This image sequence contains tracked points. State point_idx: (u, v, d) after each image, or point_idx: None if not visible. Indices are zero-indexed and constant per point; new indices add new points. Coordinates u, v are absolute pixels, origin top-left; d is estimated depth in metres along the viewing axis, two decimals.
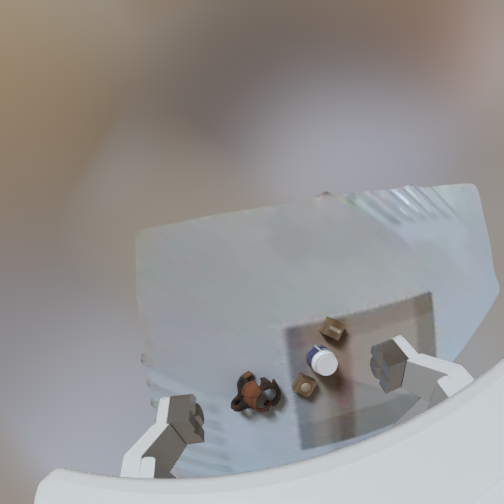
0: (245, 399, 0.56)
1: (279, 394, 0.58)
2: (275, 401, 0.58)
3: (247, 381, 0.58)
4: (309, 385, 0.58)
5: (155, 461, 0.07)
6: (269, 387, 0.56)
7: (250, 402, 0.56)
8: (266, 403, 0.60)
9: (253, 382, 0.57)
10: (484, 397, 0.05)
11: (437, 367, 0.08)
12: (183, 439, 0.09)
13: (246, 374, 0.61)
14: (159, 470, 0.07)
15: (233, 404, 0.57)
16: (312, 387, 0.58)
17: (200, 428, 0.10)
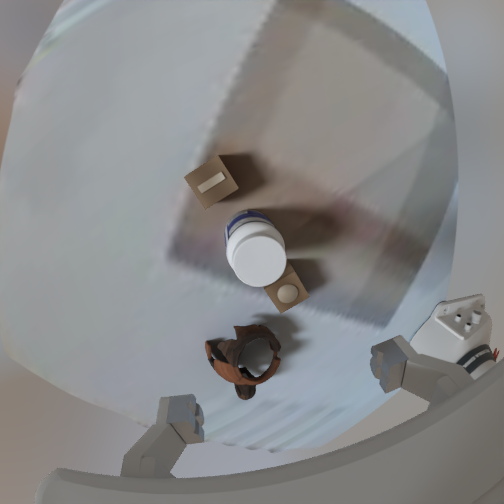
0: (237, 383, 0.34)
1: (264, 335, 0.34)
2: (273, 344, 0.35)
3: (212, 364, 0.35)
4: (288, 286, 0.32)
5: (155, 461, 0.07)
6: (237, 352, 0.32)
7: None
8: (272, 346, 0.38)
9: (217, 363, 0.33)
10: (484, 397, 0.05)
11: (437, 367, 0.08)
12: (183, 439, 0.09)
13: (206, 350, 0.37)
14: (159, 470, 0.07)
15: (238, 394, 0.36)
16: (296, 282, 0.32)
17: (200, 428, 0.10)
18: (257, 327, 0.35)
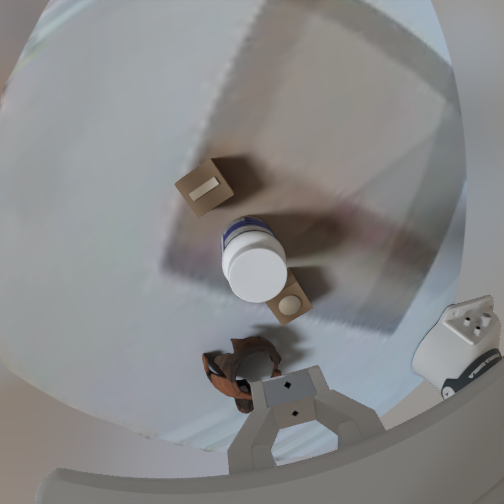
0: (237, 398, 0.32)
1: (263, 348, 0.31)
2: (273, 357, 0.32)
3: (210, 379, 0.32)
4: (290, 297, 0.30)
5: (269, 448, 0.07)
6: (235, 367, 0.30)
7: None
8: (272, 357, 0.36)
9: (214, 377, 0.31)
10: (484, 397, 0.05)
11: (345, 409, 0.08)
12: (277, 424, 0.10)
13: (203, 363, 0.35)
14: (272, 458, 0.07)
15: (238, 407, 0.34)
16: (298, 293, 0.30)
17: (293, 410, 0.10)
18: (255, 339, 0.33)
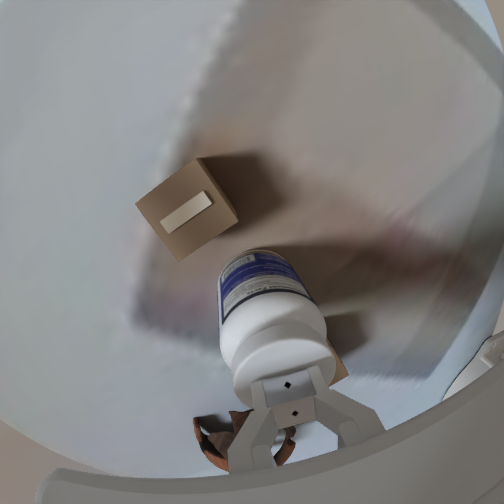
0: None
1: None
2: (285, 430, 0.22)
3: (204, 453, 0.22)
4: None
5: (269, 449, 0.07)
6: None
7: None
8: None
9: (208, 455, 0.20)
10: (484, 397, 0.05)
11: (345, 409, 0.08)
12: (277, 424, 0.10)
13: (195, 430, 0.24)
14: (272, 458, 0.07)
15: None
16: None
17: (293, 410, 0.10)
18: None
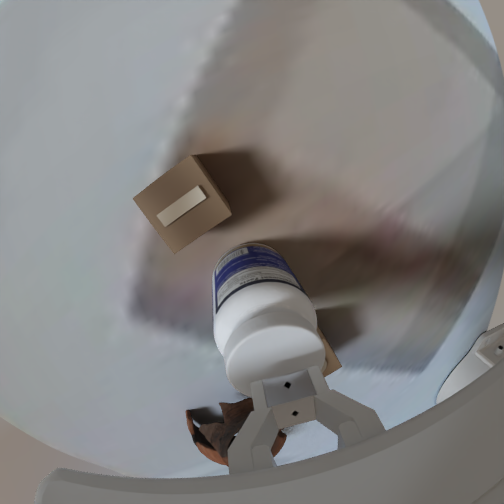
0: None
1: None
2: None
3: (196, 445, 0.22)
4: None
5: (269, 448, 0.07)
6: (226, 442, 0.19)
7: None
8: None
9: (200, 447, 0.21)
10: (484, 397, 0.05)
11: (345, 409, 0.08)
12: (277, 424, 0.10)
13: None
14: (272, 458, 0.07)
15: None
16: None
17: (293, 410, 0.10)
18: None
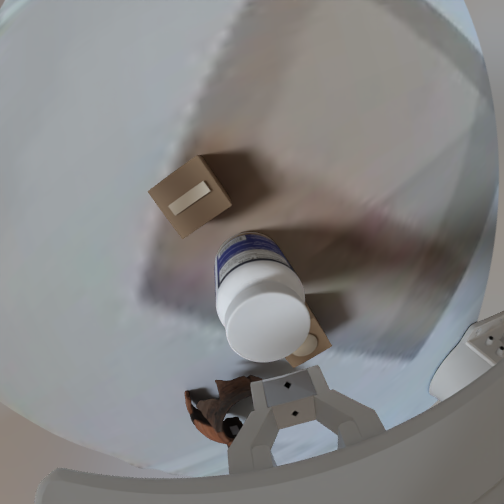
0: None
1: None
2: None
3: (194, 423, 0.25)
4: None
5: (269, 448, 0.07)
6: (220, 416, 0.22)
7: None
8: None
9: (197, 424, 0.24)
10: (484, 397, 0.05)
11: (345, 409, 0.08)
12: (277, 424, 0.10)
13: None
14: (272, 458, 0.07)
15: None
16: (315, 331, 0.23)
17: None
18: (246, 380, 0.25)
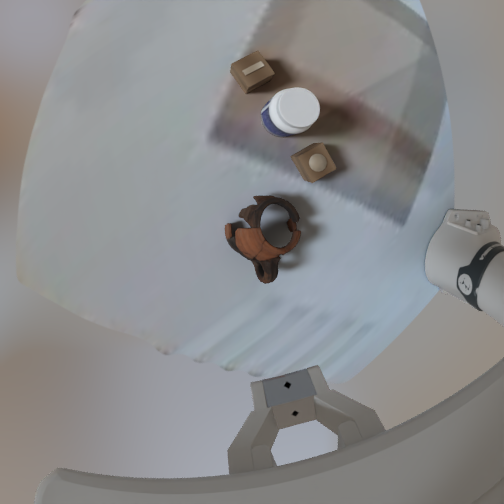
0: (260, 257, 0.36)
1: (283, 201, 0.36)
2: (292, 213, 0.37)
3: (234, 238, 0.37)
4: (318, 155, 0.34)
5: (269, 448, 0.07)
6: (259, 212, 0.34)
7: (269, 253, 0.36)
8: (290, 226, 0.40)
9: (238, 231, 0.36)
10: (484, 397, 0.05)
11: (345, 409, 0.08)
12: (277, 424, 0.10)
13: (226, 232, 0.39)
14: (272, 458, 0.07)
15: (260, 278, 0.39)
16: (324, 153, 0.35)
17: None
18: None
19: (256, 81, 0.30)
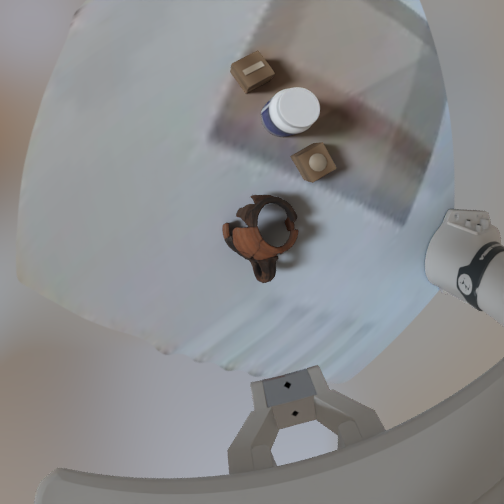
0: (257, 256, 0.36)
1: (281, 200, 0.36)
2: (289, 213, 0.37)
3: (231, 238, 0.37)
4: (318, 155, 0.34)
5: (269, 448, 0.07)
6: (256, 211, 0.34)
7: (267, 253, 0.36)
8: (288, 225, 0.40)
9: (236, 231, 0.36)
10: (484, 397, 0.05)
11: (345, 409, 0.08)
12: (277, 424, 0.10)
13: (224, 231, 0.39)
14: (272, 458, 0.07)
15: (258, 277, 0.39)
16: (324, 153, 0.35)
17: None
18: None
19: (256, 81, 0.30)
